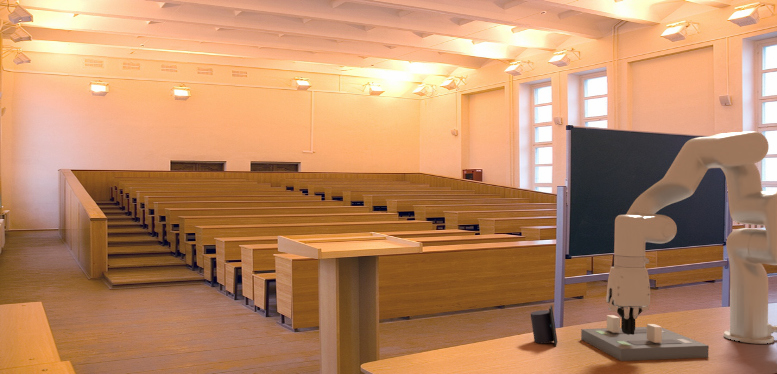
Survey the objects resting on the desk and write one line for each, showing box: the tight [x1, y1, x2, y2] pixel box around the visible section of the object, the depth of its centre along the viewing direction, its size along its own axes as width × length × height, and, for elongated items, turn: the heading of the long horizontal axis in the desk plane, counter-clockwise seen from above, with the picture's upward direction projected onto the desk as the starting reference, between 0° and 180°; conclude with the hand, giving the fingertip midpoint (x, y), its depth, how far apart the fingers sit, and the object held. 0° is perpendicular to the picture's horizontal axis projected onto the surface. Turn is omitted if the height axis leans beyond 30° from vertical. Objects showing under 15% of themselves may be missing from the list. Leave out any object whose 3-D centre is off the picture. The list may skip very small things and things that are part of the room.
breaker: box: [606, 314, 621, 332], centre depth 178 cm, size 2×4×4 cm, turn 9°
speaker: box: [529, 304, 558, 347], centre depth 178 cm, size 8×6×10 cm
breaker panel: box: [580, 326, 709, 362], centre depth 173 cm, size 24×22×3 cm
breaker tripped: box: [646, 323, 663, 343], centre depth 167 cm, size 2×4×4 cm, turn 9°
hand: (628, 333), depth 166 cm, fingers closed
